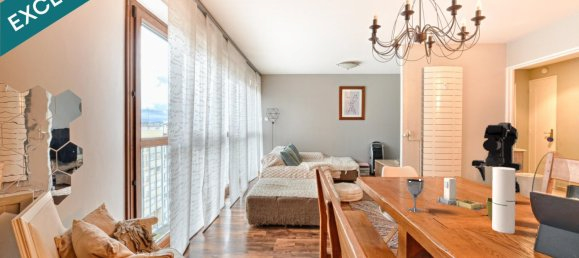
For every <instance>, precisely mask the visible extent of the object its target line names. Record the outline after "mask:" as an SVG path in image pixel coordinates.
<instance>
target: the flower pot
mask: <svg viewBox="0 0 579 258" xmlns="http://www.w3.org/2000/svg"><path fill="white" fill-rule="evenodd" d="M485 203H486V211H487V212H486V213H487V216H488V218H489V219H490V221H491V222H492V197H488V196H487V197H486V202H485Z"/></svg>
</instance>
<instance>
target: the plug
mask: <svg viewBox="0 0 579 258" xmlns="http://www.w3.org/2000/svg"><path fill="white" fill-rule="evenodd" d="M443 197H444V199H447V200H456V199H457V178H453V177H444V178H443Z"/></svg>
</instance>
